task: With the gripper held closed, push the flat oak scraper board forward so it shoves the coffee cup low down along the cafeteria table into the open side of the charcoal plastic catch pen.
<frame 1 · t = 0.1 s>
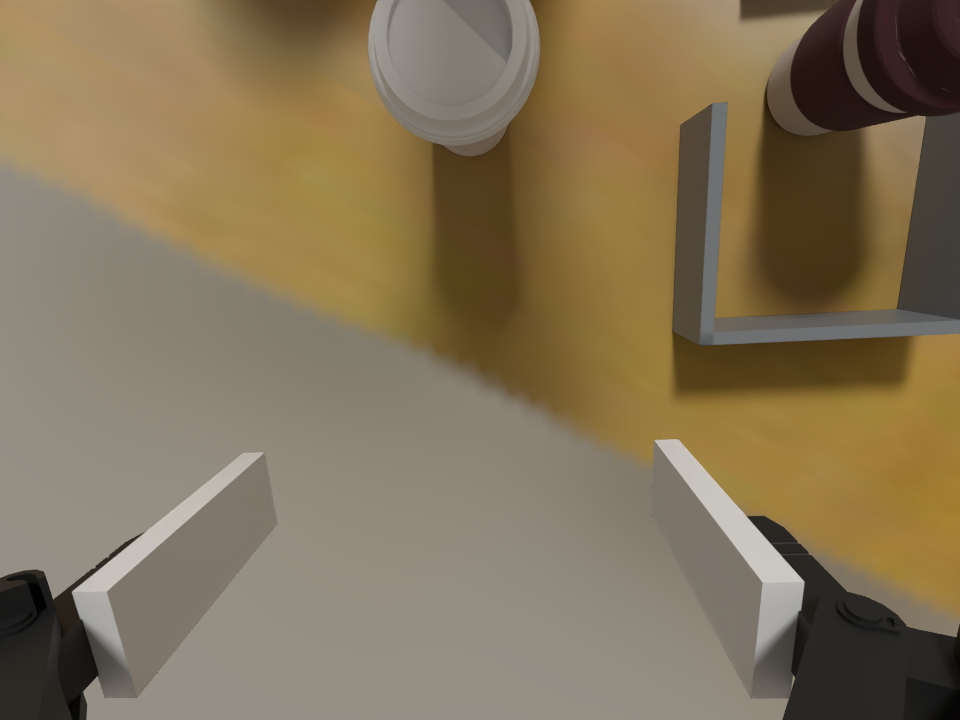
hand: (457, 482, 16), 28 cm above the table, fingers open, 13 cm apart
coffee cup: (810, 88, 37), on the table
catch pen: (798, 225, 39), on the table
coffee cup 2: (469, 114, 39), on the table
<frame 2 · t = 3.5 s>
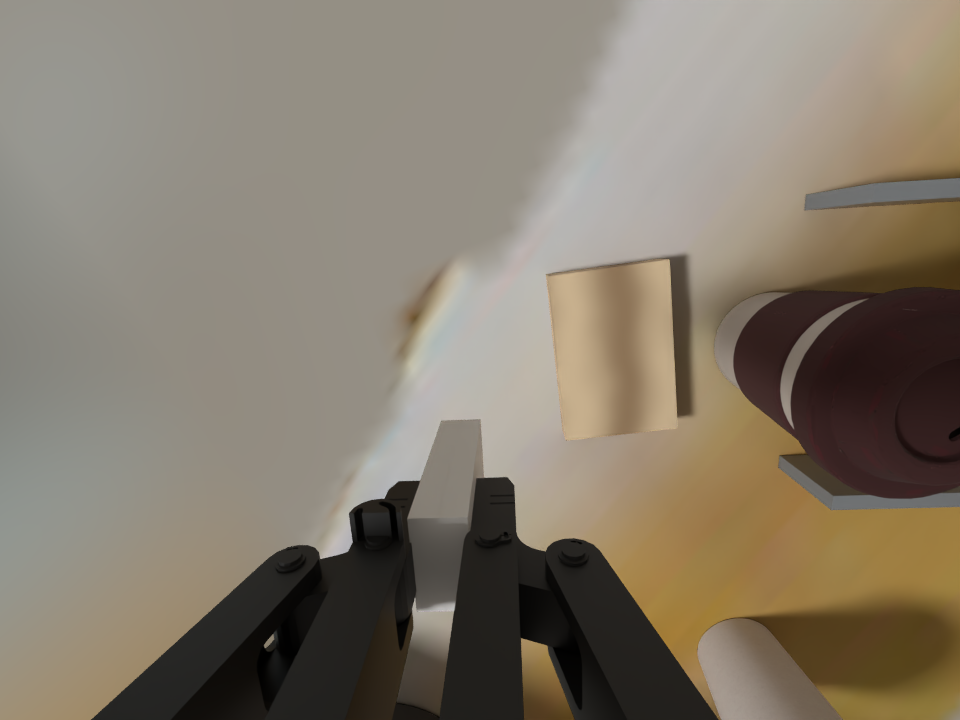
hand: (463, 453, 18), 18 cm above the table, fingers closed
coffee cup: (761, 341, 34), on the table
scraper board: (607, 347, 35), on the table
catch pen: (914, 335, 33), on the table
coffee cup 2: (734, 647, 41), on the table
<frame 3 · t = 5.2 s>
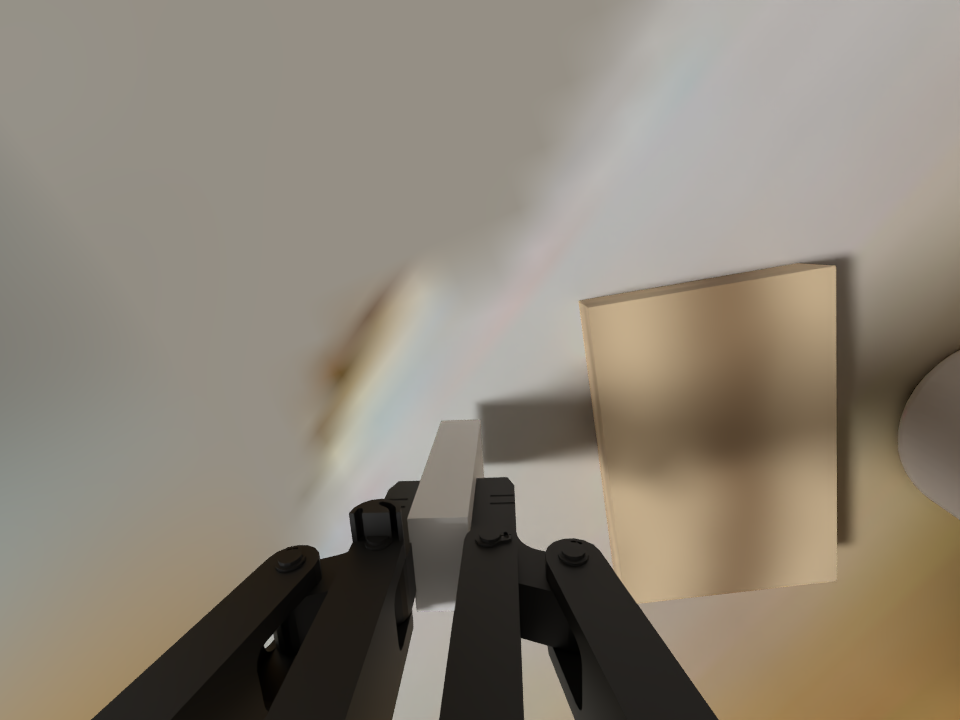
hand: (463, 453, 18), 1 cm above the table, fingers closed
scraper board: (692, 426, 19), on the table
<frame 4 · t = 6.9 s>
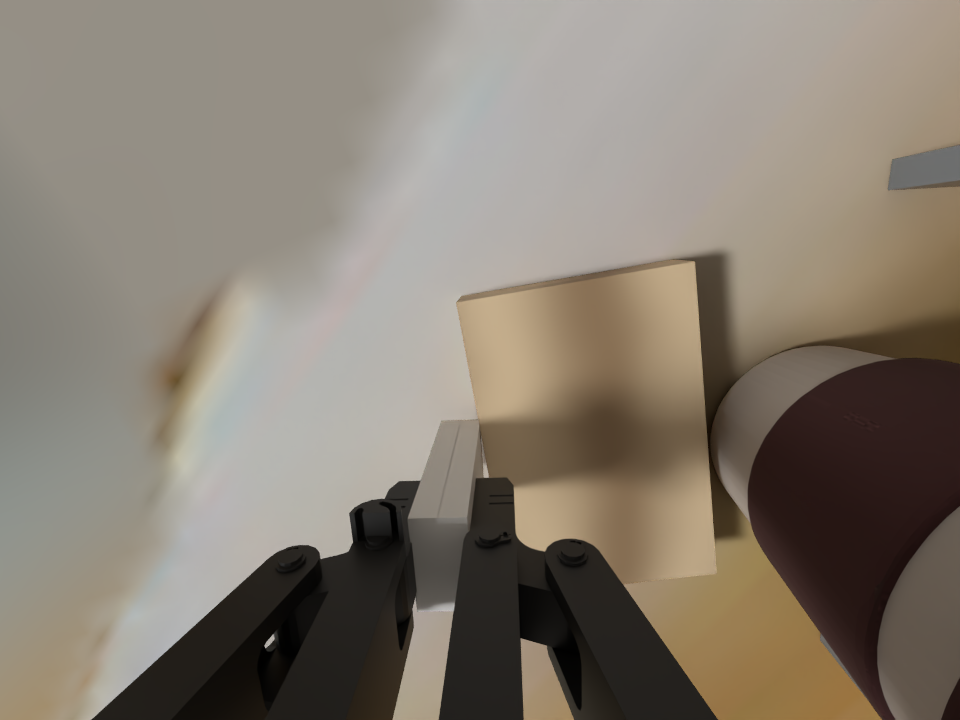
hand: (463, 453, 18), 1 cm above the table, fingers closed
coffee cup: (795, 429, 19), on the table
scraper board: (583, 420, 20), on the table, touching gripper
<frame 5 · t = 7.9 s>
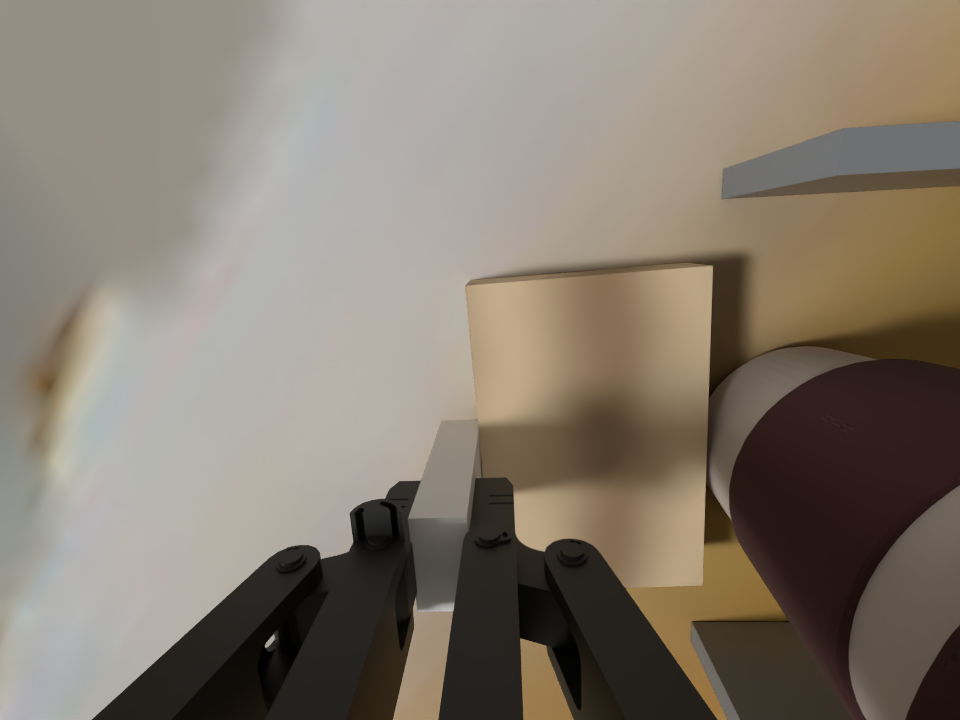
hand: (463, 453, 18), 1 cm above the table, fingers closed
coffee cup: (781, 430, 19), on the table, touching scraper board
scraper board: (580, 420, 19), on the table, touching coffee cup, gripper
catch pen: (928, 429, 18), on the table
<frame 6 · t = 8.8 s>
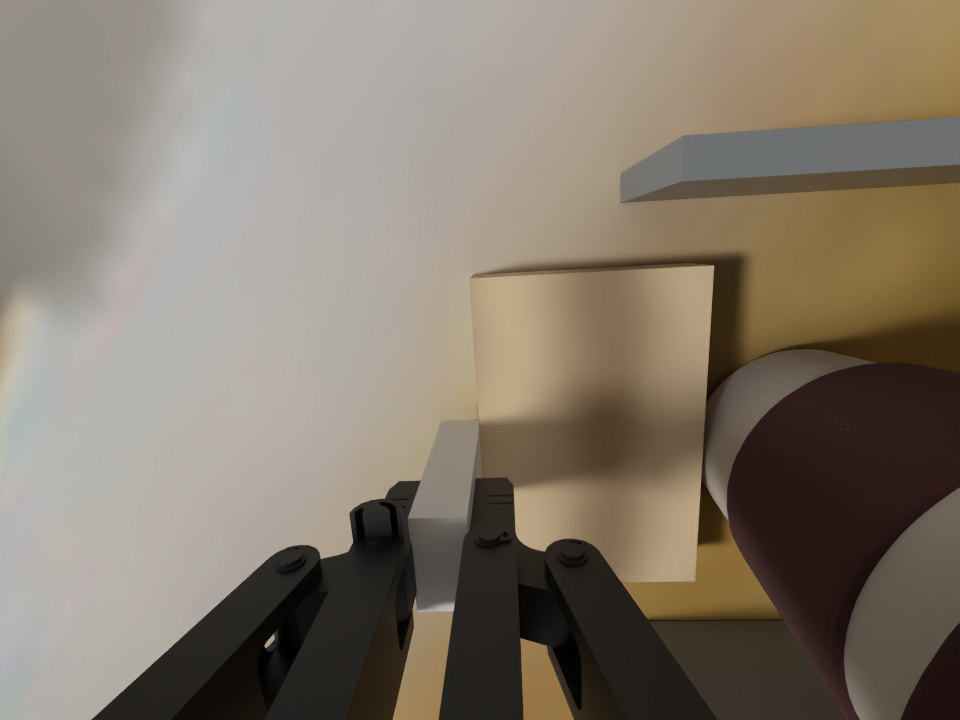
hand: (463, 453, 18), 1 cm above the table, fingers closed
coffee cup: (779, 432, 19), on the table
scraper board: (579, 415, 19), on the table, touching gripper
catch pen: (835, 429, 19), on the table
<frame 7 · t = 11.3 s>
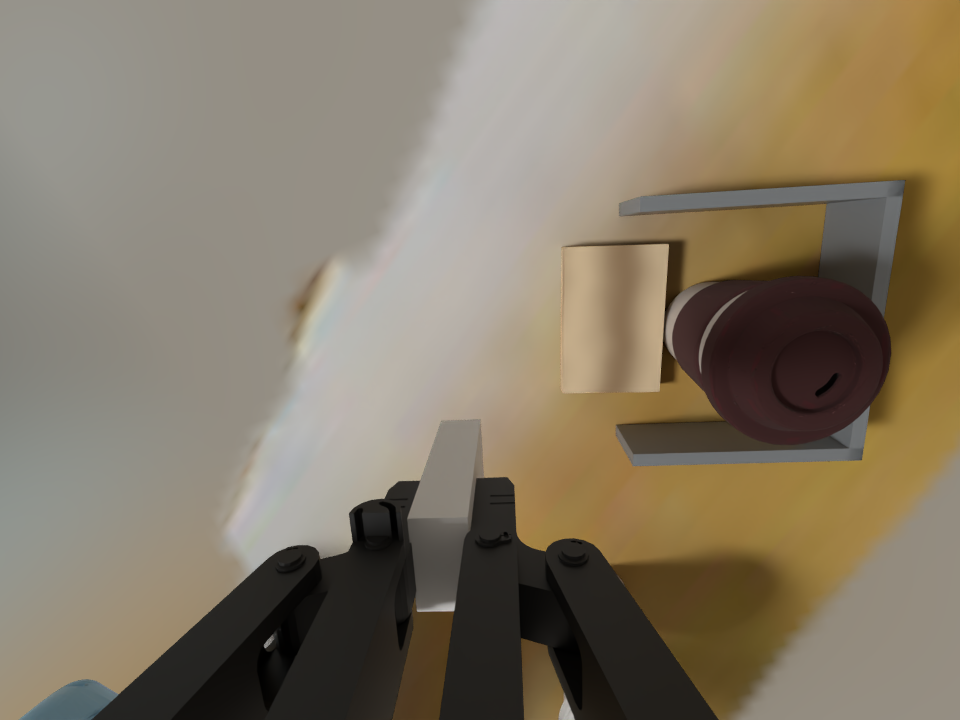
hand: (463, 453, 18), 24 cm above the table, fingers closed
coffee cup: (703, 324, 40), on the table
scraper board: (607, 317, 40), on the table
catch pen: (720, 321, 40), on the table
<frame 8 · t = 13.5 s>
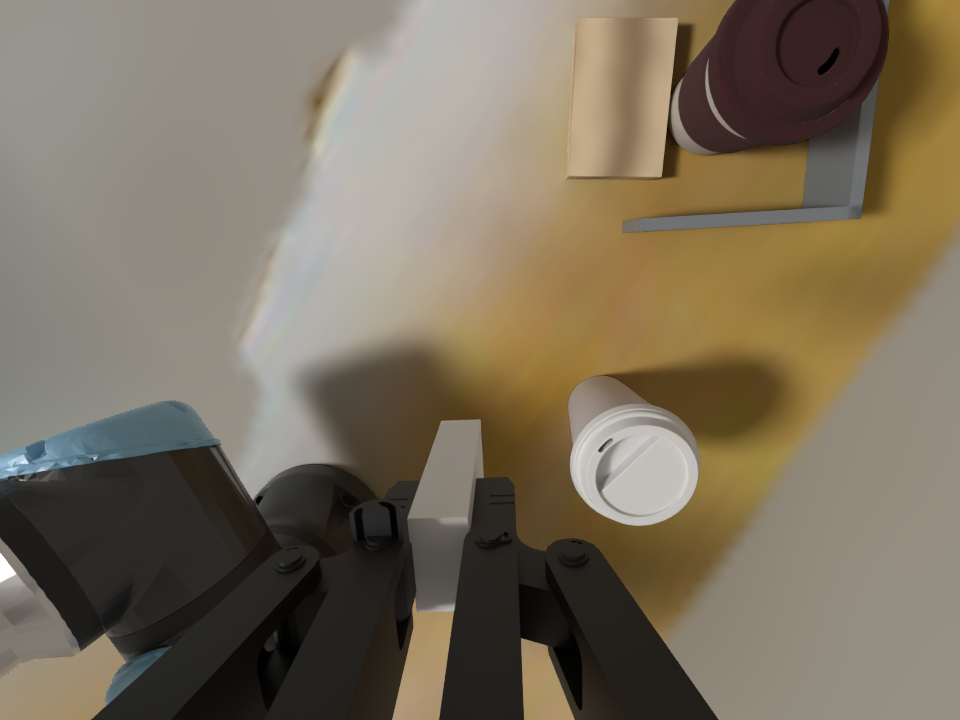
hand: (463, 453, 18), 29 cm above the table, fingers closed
coffee cup: (707, 112, 41), on the table
scraper board: (614, 108, 42), on the table
catch pen: (723, 108, 41), on the table
coffee cup 2: (599, 405, 48), on the table
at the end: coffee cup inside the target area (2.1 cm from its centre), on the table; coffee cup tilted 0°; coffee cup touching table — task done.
